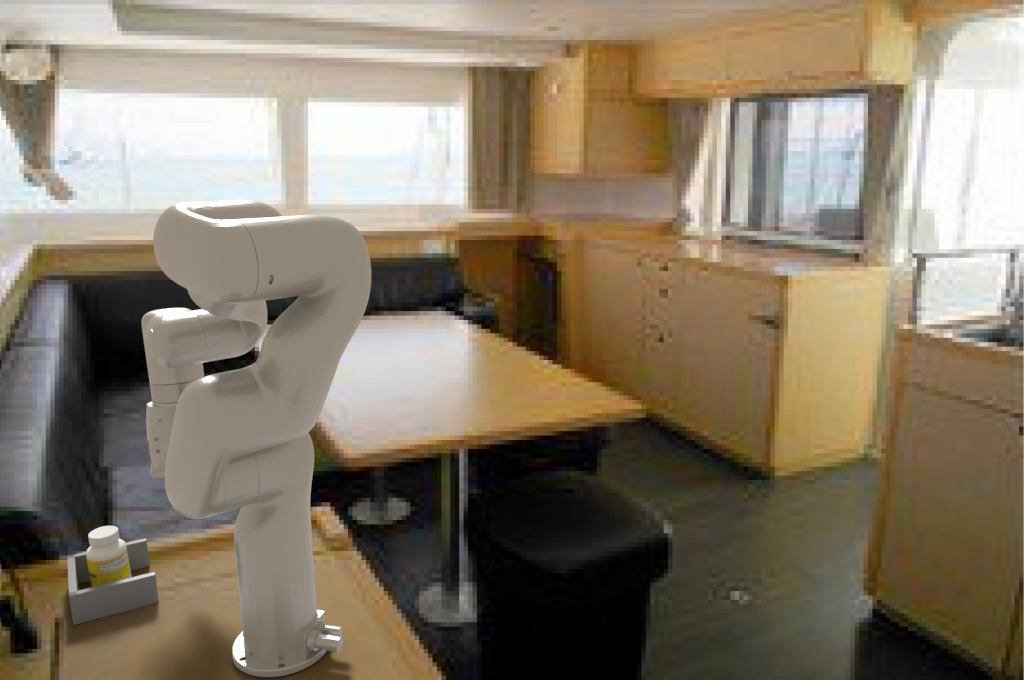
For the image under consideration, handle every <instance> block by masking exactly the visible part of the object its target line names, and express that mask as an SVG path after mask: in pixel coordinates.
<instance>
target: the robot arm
mask: <svg viewBox="0 0 1024 680" xmlns="http://www.w3.org/2000/svg"><path fill="white" fill-rule="evenodd" d="M152 237H153V238H152V241H153V250H154V251H153V252H154V253H153V254H154V256H155V258H156V259H155V260H156V262H157V264H158V266H159V268H160V270H161V271H162V272H163V274H164V275H165V276H166V277H167V278H168V279H169V280H171V281H173V282H174V283H176V284H177V285H179V286H180V287H182V288H185V289H186V291H187V292H188V295H189V297H190V299H191V300H192V302H194V303H195V305H196V306H197V307H199V308H200V309H195V310H192V309H190V308H186V307H169V308H161V309H160V308H159V309H154V310H151V311H147V312H146V313H145V314H144V315H143V316H142V318H141V331H142V339H143V345H144V352H145V353H144V354H145V358H146V359H145V360H146V367H147V375H148V379H149V388H150V395H151V401H149V402H148V403H146V411H145V413H146V414H145V426H146V429H145V430H146V440H147V450H148V457H149V460H150V462H151V465H150V471H149V474H150V476H151V477H152V478H153V479H164V485H165V492H166V496H167V499H168V502H169V503H170V504H171V506H172V507H173V509H174V510H175V511H176V512H177V513H178V514H179V515H181V516H182V517H184V518H186V519H190V520H203V519H208V518H211V517H212V518H213V517H214V516H218V515H221V514H224V513H227V512H231V511H233V510H236V509H239V512H238V514H237V517H236V520H235V524H234V529H233V545H234V557H235V566H236V577H237V588H238V596H239V607H240V608H239V609H240V618H241V628H242V631H241V632H240V634H238V636H236V638H235V640H234V642H233V644H232V647H231V658H232V662H233V663H234V665H235V667H236V668H237V669H238V670H239V671H240V672H243V673H245V674H247V675H249V676H253V677H260V678H276V677H277V678H278V677H283V676H284V677H285V676H288V675H292V674H295V673H298V672H301V671H303V670H305V669H307V668H308V667H309V668H310V666H312V665H315V663H316V662H318V661H319V660H320V659H321V658H323V656H324V655H326V653H327V652H334V653H341V652H342V649H343V647H344V641H345V639H344V637H343V633H344V627H343V626H341V625H334V624H333V625H331V624H328V622H326V615H325V610H321V609H318V608H317V606H318V605H317V595H316V594H317V593H316V581H315V579H316V578H315V565H314V553H313V539H312V538H313V536H312V534H313V533H312V531H313V530H312V521H311V518H312V516H311V515H312V514H311V494H312V493H311V492H312V481H313V475H314V469H315V448H314V443H313V440H312V437H311V435H310V433H309V432H311V431H312V430H313V428H314V427H315V426H316V424H317V422H318V420H319V418H320V415H321V413H322V411H323V408H324V405H325V402H326V400H327V397H328V394H329V391H330V389H331V386H332V385H333V384H332V383H333V381H334V378H335V376H336V373H337V370H338V365H339V364H340V360H341V358H342V356H343V354H344V352H345V350H346V348H347V347H348V345H349V343H350V342H351V340H352V338H353V336H354V334H355V333H356V331H357V329H358V327H359V325H360V323H361V321H362V320H363V316H364V314H365V313H366V310H367V306H368V302H369V299H370V293H371V286H372V266H371V265H372V264H371V257H370V253H369V249H368V245H367V243H366V240H365V239H364V236H363V235H362V234H361V232H360V231H359V230H358V229H357V228H356V227H355V226H354V225H353V224H351V223H350V222H348V221H346V220H343V219H341V218H337V217H333V216H327V215H320V214H319V215H318V214H316V215H315V214H314V215H313V214H303V215H301V214H299V215H285V216H284V215H282V214H281V213H280V212H279V211H278V210H277V209H276V208H274V207H273V206H272V205H269V204H268V203H267V204H266V203H264V202H262V201H261V202H260V201H256V200H251V199H250V200H248V199H245V200H244V199H240V200H239V199H235V200H234V199H233V200H232V199H231V200H218V201H217V200H214V201H213V200H210V201H191V202H189V201H188V202H179V203H175V204H172V205H171V206H169V207H167V208H166V209H165V210H164V211H163V212H162V213H161V214H160V215H159V217H158V219H157V220H156V223H155V227H154V229H153V236H152ZM293 297H297V299H295V300H294V301H293V302H292V304H290V305H289V306H288V307H287V308H285V310H284V311H283V312H282V313H280V314H279V316H278V317H276V319H275V320H274V321H273V323H272V324H271V326H270V327H269V328H268V330H267V324H268V306H267V302H266V301H270V300H271V301H272V300H278V299H280V300H281V299H287V298H293ZM266 330H267V331H266ZM265 331H266V332H265ZM265 333H266V334H265ZM264 334H265V335H264ZM263 336H264V337H263ZM262 337H263V340H262V343H261V347H260V351H259V354H258V356H257V359H256V361H255V362H253V363H251V364H249V365H247V366H245V367H242V368H238V369H233V370H228V371H223V372H217V373H213V374H209V375H205V372H204V365H203V364H204V363H209V362H215V361H220V360H226V359H233V358H237V357H240V356H244V355H245V354H247V353H249V352H251V350H253V348H254V347H255V346H256V345H257V344H258V342H259V341H260V339H261V338H262Z"/></svg>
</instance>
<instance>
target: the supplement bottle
mask: <svg viewBox="0 0 1024 680" xmlns="http://www.w3.org/2000/svg"><path fill="white" fill-rule="evenodd" d="M87 535H88V536H87V537H88V543H89V545H90V546H88V548H87V549H86V551H85V552H86V558H87V564H88V569H89V574H90V580H91V581H90V583H91V587H95V586H99V585H103V584H107V583H111V582H115V581H119V580H123V579H127V578H131V577H133V576H132V572H131V571H130V565H129V559H128V553H127V547H126V543H127V542H126V541H125V540H124V539H121V538H120V532H119V528H118V527H117V526H115V525H104V526H99V527H97V528H94V529H93V530H91V531H90V532H89V533H88V534H87Z"/></svg>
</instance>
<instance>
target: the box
mask: <svg viewBox="0 0 1024 680" xmlns="http://www.w3.org/2000/svg"><path fill="white" fill-rule="evenodd" d="M125 543H126V547H127V553H128V559H129V565H130V571H132V572H133V571H137V570H140V569H144V568H149V567H150V566H151V565H150V558H149V550H148V541H147V538H146V537H145V538H139V539H136V540H131V541H128V542H125ZM66 558H67V560H66V563H67V582H68V599H69V604H70V605H69V607H70V611H71V618H72V624H73V626H75V625H79V624H83V623H87V622H90V621H94V620H98V619H101V618H105V617H109V616H113V615H117V614H119V613H120V614H121V613H124V612H128V611H132V610H135V609H139V608H143V607H146V606H149V605H154V604H158V603H160V602H159V601H160V600H159V593H158V586H157V578H156V577H157V576H156V575H157V574H156V572H155V571H153V572H151V571H150V572H148V573H144V574H139V575H136V576H132V577H131V578H127V579H123V580H119V581H115V582H111V583H107V584H103V585H99V586H95V587H92V586H91V587H87V588H83V589H80V584H82V583H87V582H91V580H90V574H89V569H88V564H87V558H86V551H83V552H78V553H73V554H70V555H66Z"/></svg>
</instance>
